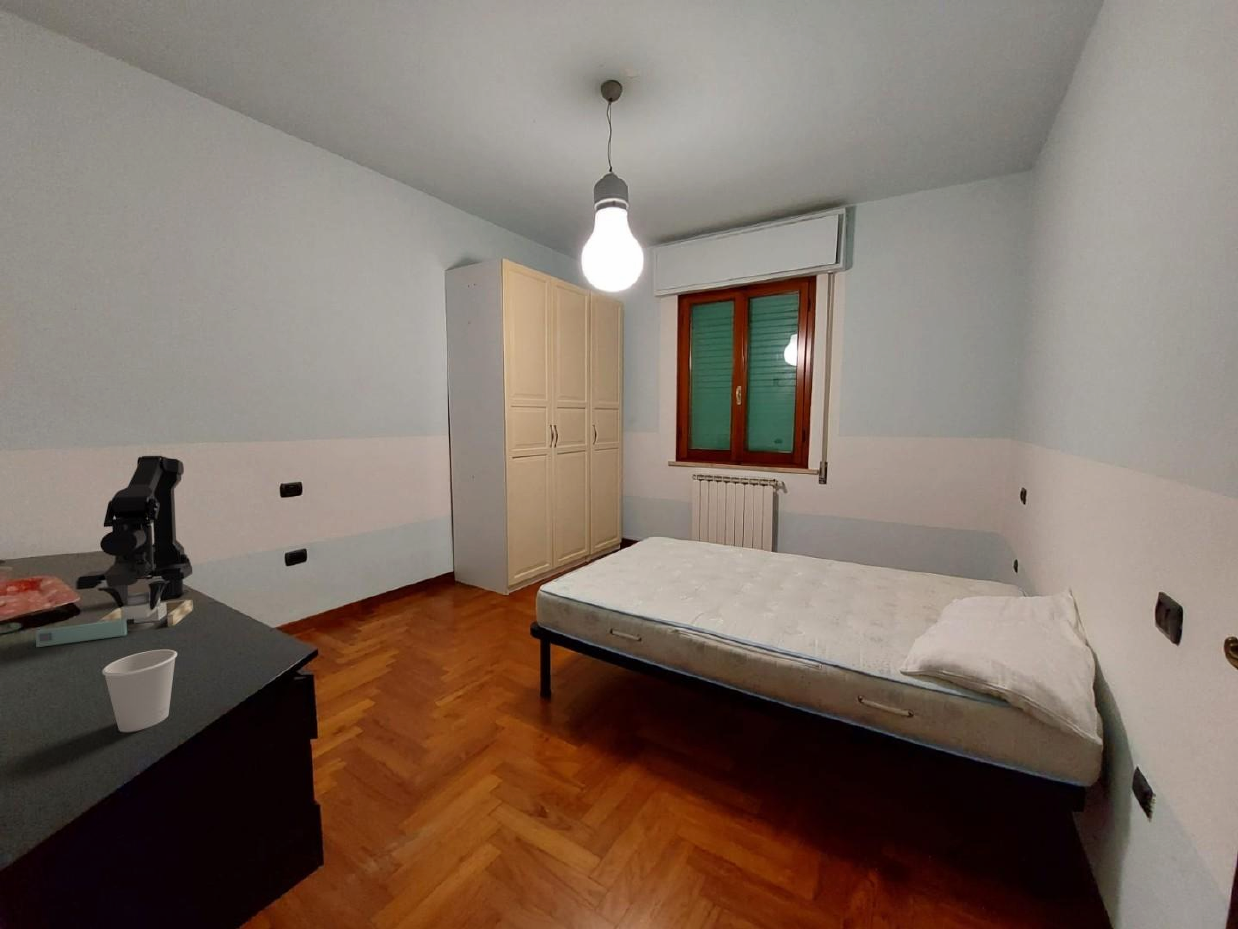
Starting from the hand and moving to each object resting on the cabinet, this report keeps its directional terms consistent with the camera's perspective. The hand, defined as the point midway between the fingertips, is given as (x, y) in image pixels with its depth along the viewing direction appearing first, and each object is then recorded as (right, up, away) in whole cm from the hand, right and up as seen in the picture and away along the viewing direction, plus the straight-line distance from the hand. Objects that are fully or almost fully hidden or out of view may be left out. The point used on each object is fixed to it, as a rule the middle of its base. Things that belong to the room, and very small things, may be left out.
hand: (139, 611), depth 111 cm
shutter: (-5, -5, -8) cm, 10 cm away
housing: (-1, -4, +3) cm, 5 cm away
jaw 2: (-2, -4, +5) cm, 7 cm away
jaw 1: (0, -1, 0) cm, 1 cm away
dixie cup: (+39, -6, -36) cm, 54 cm away
